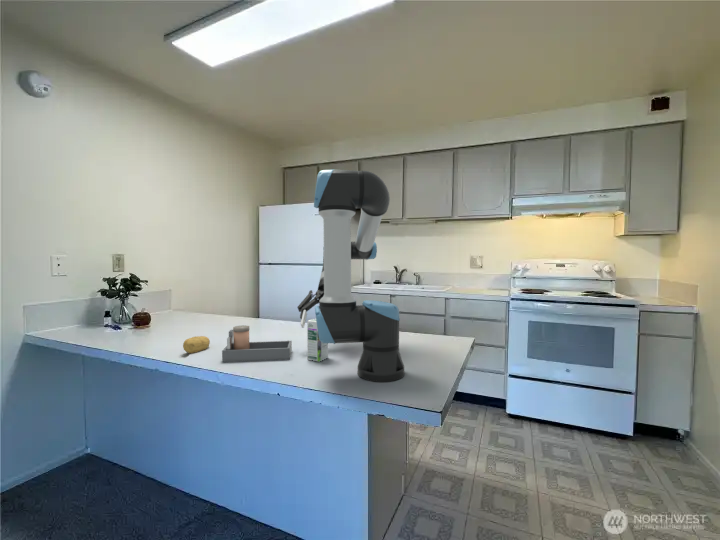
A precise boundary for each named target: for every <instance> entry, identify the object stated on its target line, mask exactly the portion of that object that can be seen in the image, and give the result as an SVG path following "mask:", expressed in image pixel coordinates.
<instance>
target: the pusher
mask: <svg viewBox="0 0 720 540" xmlns="http://www.w3.org/2000/svg"><path fill="white" fill-rule="evenodd" d="M226 346H227V350H234V331H233V329H230V330H229V331H228V337H227V338H226Z"/></svg>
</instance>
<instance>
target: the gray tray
mask: <svg viewBox="0 0 720 540" xmlns="http://www.w3.org/2000/svg"><path fill="white" fill-rule="evenodd" d="M292 343H293V341H292V340H276V341H275V340H273V341H249V344H250V349H241V350H227V345H226V346H225V347H224V348H223V349H222V350H221V355H222V356H221V357H222V358H221V359H222V361H221V362H222V363H236V362H237V363H238V362H259V361H260V362H261V361H263V362H265V361H283V360H284V361H287V360H289V361H290V360H291V355H292V351H293V346H292Z"/></svg>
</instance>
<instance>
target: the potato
mask: <svg viewBox="0 0 720 540" xmlns="http://www.w3.org/2000/svg"><path fill="white" fill-rule="evenodd" d="M210 344H211V341H210V338H209V337H207V336H205V335H200V336H198V335H197V336H192V337H189V338H187V339H185V340H184V342H183V344H182V347H183V351H185V352H186V353H188V354H195V353H198V352H202V351H203V350H206V349H208V348H209V346H210Z"/></svg>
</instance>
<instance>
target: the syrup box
mask: <svg viewBox="0 0 720 540" xmlns="http://www.w3.org/2000/svg"><path fill="white" fill-rule="evenodd" d="M306 322H307V325H306V326H307V327H306V330H307V331H306V333H307V334H306V335H307V336H306V338H307V345H306V346H307V347H306V348H307V353H306V354H307V359H308V360H307V361H312V360H313V362H318V363H321V362H322V360H323V361H325V360H326V358H327V359H328V358H329V343H322V342H321V341H320V340H319V335H318V329H317V322H316V318H312V319H309V320H307V321H306ZM324 359H325V360H324ZM320 361H321V362H320Z"/></svg>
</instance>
